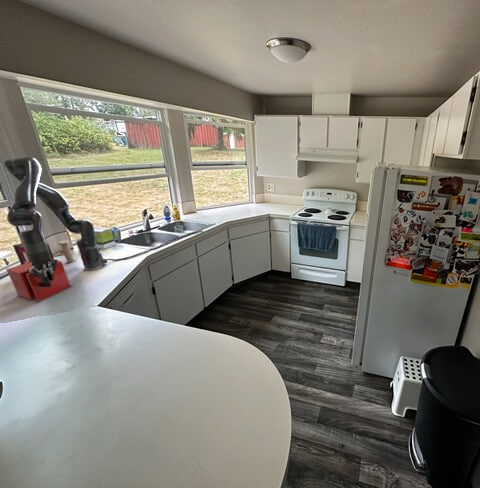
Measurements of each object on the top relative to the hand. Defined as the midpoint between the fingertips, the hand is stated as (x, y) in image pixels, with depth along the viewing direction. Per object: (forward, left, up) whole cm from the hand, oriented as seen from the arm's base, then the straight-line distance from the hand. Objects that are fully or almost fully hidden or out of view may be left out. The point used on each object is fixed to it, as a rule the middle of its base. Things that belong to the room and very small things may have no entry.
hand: (49, 281), depth 130 cm
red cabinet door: (-3, -4, -10) cm, 12 cm away
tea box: (-60, -61, -11) cm, 86 cm away
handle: (-32, -48, -11) cm, 59 cm away
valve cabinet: (-3, -15, -11) cm, 19 cm away
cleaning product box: (-14, -41, -11) cm, 45 cm away
